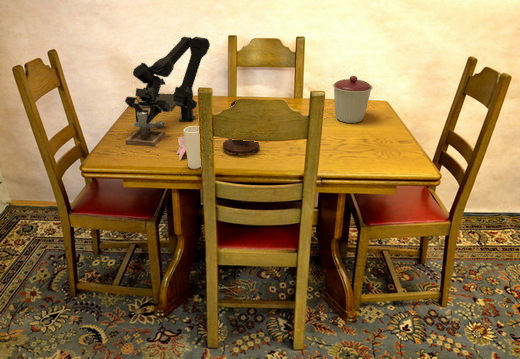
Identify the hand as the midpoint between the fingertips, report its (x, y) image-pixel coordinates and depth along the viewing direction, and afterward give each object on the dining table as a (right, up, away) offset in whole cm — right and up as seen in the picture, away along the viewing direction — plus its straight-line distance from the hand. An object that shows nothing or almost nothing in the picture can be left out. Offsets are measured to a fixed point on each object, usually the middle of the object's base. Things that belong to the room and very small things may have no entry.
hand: (142, 122), depth 189 cm
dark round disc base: (+41, -12, -3) cm, 43 cm away
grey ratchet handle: (-2, +1, +19) cm, 19 cm away
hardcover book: (-2, +15, +48) cm, 50 cm away
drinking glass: (+25, -19, -17) cm, 35 cm away
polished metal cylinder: (0, -5, +4) cm, 7 cm away
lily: (+20, -14, -8) cm, 26 cm away
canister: (+92, +5, +29) cm, 96 cm away
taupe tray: (0, -7, +5) cm, 9 cm away
